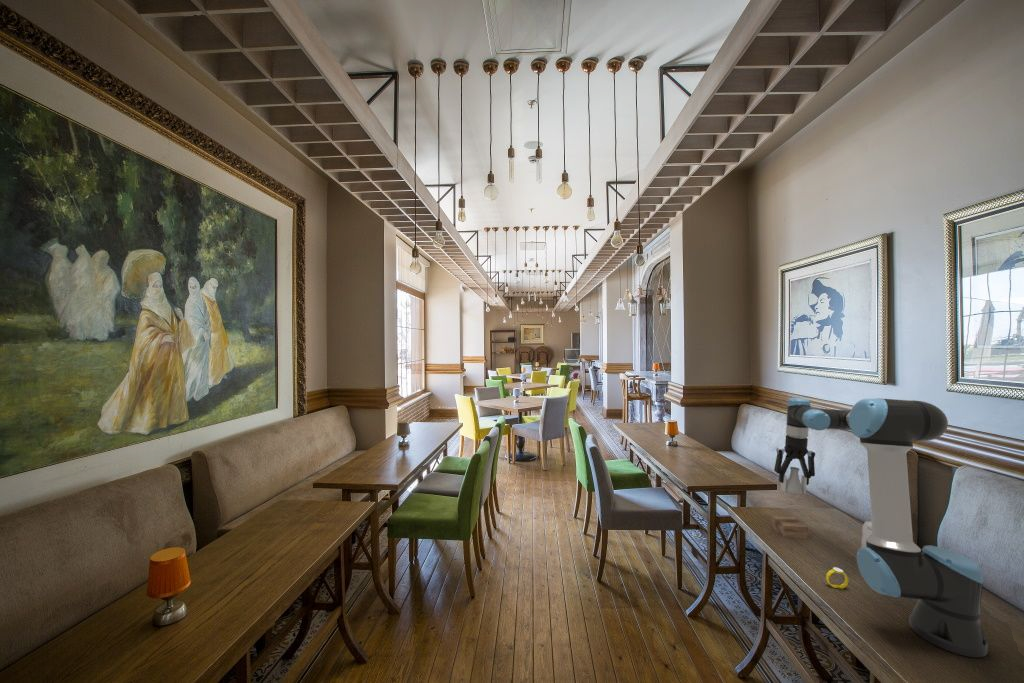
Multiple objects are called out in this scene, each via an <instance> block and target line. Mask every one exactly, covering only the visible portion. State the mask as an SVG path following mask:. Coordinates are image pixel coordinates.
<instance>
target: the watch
mask: <svg viewBox="0 0 1024 683" xmlns="http://www.w3.org/2000/svg"><path fill="white" fill-rule="evenodd" d="M835 573H836V574H839V575H843V576H844V582H843V583H841V584H840V585H839V584H832V583H831V581H830V578H831V575H832V574H835ZM847 575H848V574H846V573H845V572H844V570H843V569H841V568H839V567H837V566H835V567H832V569H829V570H828V572H827V573H826V574H825V580H826V582H827V584H828V585H829V586H830V587H832V588H835V589H842V590H843V589H844V588H847V586H848V584H849V576H847Z"/></svg>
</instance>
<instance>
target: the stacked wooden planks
mask: <svg viewBox="0 0 1024 683" xmlns="http://www.w3.org/2000/svg"><path fill="white" fill-rule="evenodd" d="M771 518H772V519H771V527H772V528H773V529H774V531H776V532H777V533H778V534H779V535H781V537H783V538H786V539H787V538H788V539H802V540H803V539H804V540H807V539H808V534H809V533H808V532H809V530H808V529H809V528H808V526H807V525H805V523H803V522H801V521H800V520H799V519H797V518H796V517H795V516H783V515H781V516H779V515H772V517H771Z"/></svg>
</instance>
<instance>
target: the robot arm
mask: <svg viewBox="0 0 1024 683" xmlns="http://www.w3.org/2000/svg"><path fill="white" fill-rule="evenodd" d="M786 408H787V411H786V428H785V434H786V435H785V440H784V443H785V446H784V447H783V448H779V447H778V448H776V457H775V465H774V469H773V470H774V472H775V473H776V474H778V482H779V483H780V490H781V491H783V492H786V483H787V476H788V475H786V472H787V470H788V469H789V466H790V465H791V462H792V461H793V460H796V459H797V460H799V464H800V466H801V467H800V468H801V470H802V473H803V474H802V475H801V478H800V479H801V480H800V483H801V486H802V489H803V492H804V494H806V493H807V486H809V485H810V479H811V478H812V477H815V476H816V472H815V469H816V468H815V457H816V452H814V451H812V450H808V441H809V439H808V437H809V429H810V430H815V431H819V432H820V431H824V430H840V431H841V430H842V431H851V433H852V434H853V435H854V436H855V437H858V438H859V444H861V446H863V448H864V449H866V452H867V454H866V456H867V466H868V467H867V470H868V483H869V485H868V487H869V499H870V500H869V501H870V503H869V504H870V517H871V520H870V521H872V535H871V536H869V537H868V538H866V547H863V548H861V547H860V548H859V549H858V550H857V552H856V564H857V566H858V570H859V573H860V575H861V576H862V578H863V579H864V581H865V583H866V584H867V585H868V586H869V587H870V588H871V589H872V590H873V591H874V592H876V593H878V594H880V595H884V596H891V597H892V598H906V599H915V600H917V602H916V604H915V605H914V607H913V610H912V611H911V612H910V613H909V616H908V617H909V618H908V619H909V620H908V624H909V627H910V628H911V630H913V632H915V634H916V635H918V636H920V638H922V639H924V640H925V641H927V642H928V643H930V644H932V645H935V646H936V647H939V648H940V649H943V650H945V651H947V652H949V653H950V652H951V653H953V654H957V655H960V656H965V657H968V658H976V659H977V658H979V659H980V658H984V657H986V656H987V655H988V650H989V649H988V646H989V645H988V642H987V637H986V635H985V633H984V630H983V627H982V623H981V620H980V619H981V605H982V597H983V596H982V595H983V585H984V580H983V579H984V578H983V577H984V576H983V575H984V574H983V573H984V572H983V569H982V567H981V566H980V565H979V564H978V563H977V562H975V561H973V560H971V559H970V558H968V557H966V556H965V555H962V554H960V553H958V552H955V551H953V550H949V549H946V548H943V547H939V546H935V545H923V547H922V548H920V547H919V545H917V544H916V543H915V542H914V538H913V536H914V535H913V524H912V513H911V512H912V511H911V510H912V508H911V499H910V498H911V497H910V486H909V472H908V471H909V470H908V462H907V461H908V459H907V458H908V457H907V453H908V452H910V451H911V450H912V449H913V448H914V445H913V444H914V443H913V442H927V441H933V440H936V439H939V438H940V437H941V436H943V435H944V434H945V433H946V432H947V429H948V426H949V421H948V420H949V419H948V418H947V416H946V414H945V413H944V411H943V410H942V409H940V408H939V407H937V406H936V405H934V404H933V403H930V402H926V401H921V400H915V399H913V400H907V399H891V398H879V397H877V398H875V397H874V398H862V399H860V400H859V401H857V402H856V403H855V404H854V405H853V406H852V407H851V409H835V408H834V409H832V408H831V409H830V408H829V409H828V408H815V407H812V406H811V400H809V399H807V398H802V397H790V398H789V399H788V401H787V406H786ZM784 454H785V458H784ZM806 455H807V463H806V458H805V456H806ZM783 459H784V460H783ZM786 493H787V492H786Z"/></svg>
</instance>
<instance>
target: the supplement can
mask: <svg viewBox="0 0 1024 683" xmlns="http://www.w3.org/2000/svg"><path fill="white" fill-rule="evenodd" d="M861 529H862V530H861V542H860V543H861V545H860V548H863V547H866V538H868V537H869V536H871V535H872V520H866V521H864V524H862V528H861Z"/></svg>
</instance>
